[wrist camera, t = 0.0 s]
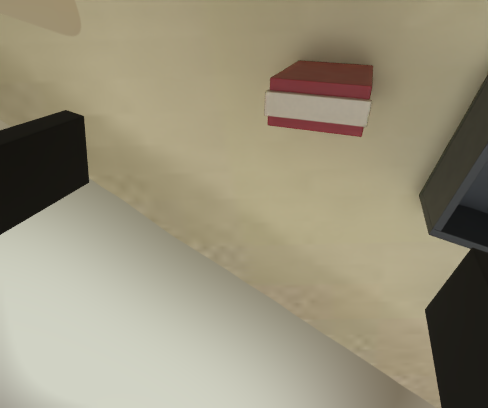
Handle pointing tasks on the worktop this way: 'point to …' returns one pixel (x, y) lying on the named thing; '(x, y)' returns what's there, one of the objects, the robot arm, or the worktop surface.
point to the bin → (462, 182)
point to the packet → (321, 97)
